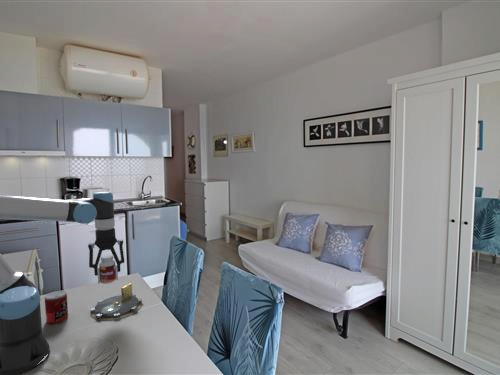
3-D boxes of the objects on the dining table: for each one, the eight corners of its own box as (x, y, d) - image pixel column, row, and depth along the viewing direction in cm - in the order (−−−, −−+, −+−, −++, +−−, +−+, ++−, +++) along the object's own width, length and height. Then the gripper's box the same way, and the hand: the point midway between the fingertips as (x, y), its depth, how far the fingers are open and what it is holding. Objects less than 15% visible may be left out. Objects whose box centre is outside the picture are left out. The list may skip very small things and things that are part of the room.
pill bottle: (98, 285, 121) (97, 259, 120) (101, 279, 127) (100, 255, 126) (115, 283, 122) (113, 257, 122) (117, 277, 128) (115, 253, 127)
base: (143, 313, 126) (143, 313, 126) (89, 325, 117) (89, 324, 117) (139, 294, 145) (139, 293, 145) (92, 303, 136) (92, 302, 136)
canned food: (57, 325, 117) (55, 299, 116) (41, 323, 119) (39, 297, 118) (72, 315, 125) (71, 291, 124) (57, 313, 126) (55, 289, 126)
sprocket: (151, 300, 137) (150, 285, 136) (117, 323, 117) (116, 305, 117) (117, 294, 144) (116, 279, 144) (79, 314, 125) (78, 297, 124)
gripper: (129, 224, 130) (131, 273, 132) (80, 228, 122) (83, 281, 124) (129, 227, 123) (132, 279, 125) (78, 232, 115) (81, 288, 117)
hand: (108, 280), depth 125 cm, fingers closed on pill bottle, 6 cm apart
